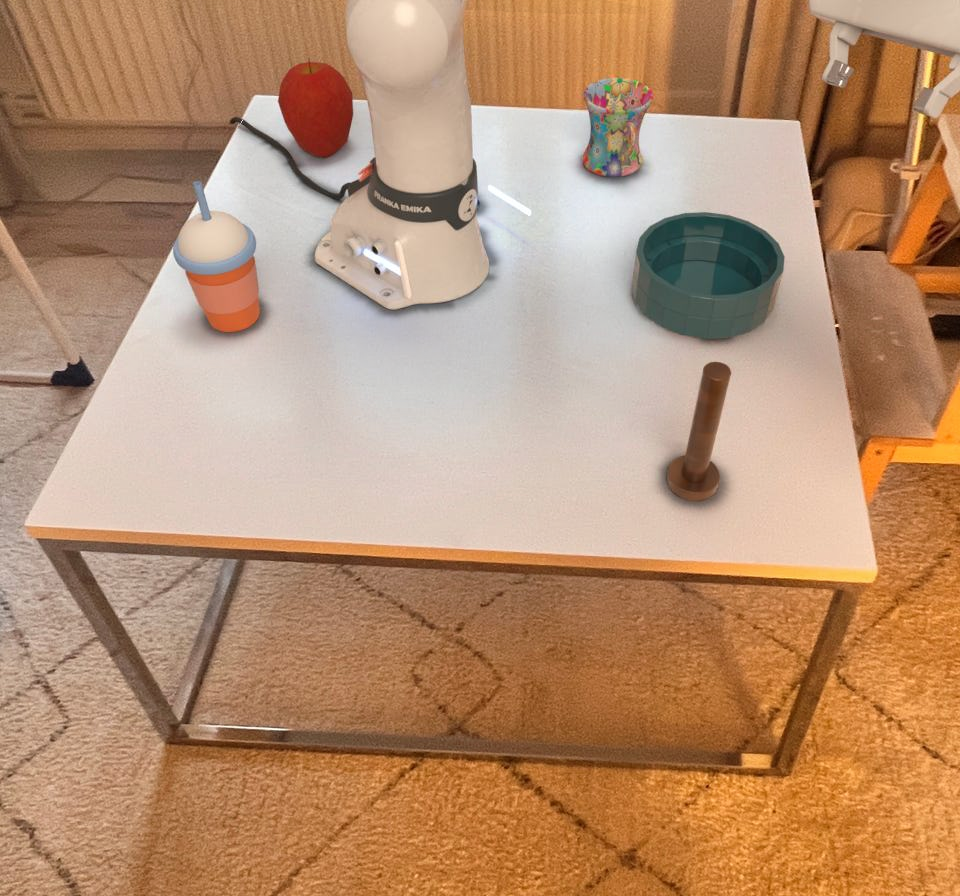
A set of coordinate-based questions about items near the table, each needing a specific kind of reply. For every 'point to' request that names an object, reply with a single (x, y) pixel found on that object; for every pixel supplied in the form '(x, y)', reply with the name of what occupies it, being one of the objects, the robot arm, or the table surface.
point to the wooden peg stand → (702, 438)
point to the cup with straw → (220, 266)
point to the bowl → (707, 275)
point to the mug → (615, 125)
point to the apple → (316, 107)
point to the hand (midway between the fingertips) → (876, 98)
